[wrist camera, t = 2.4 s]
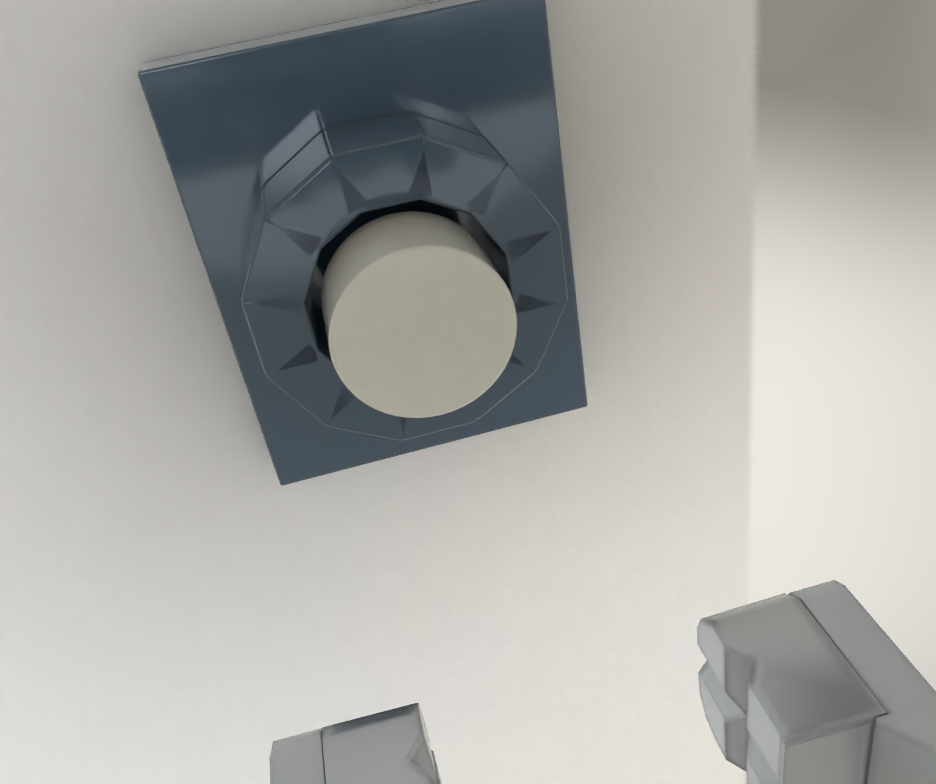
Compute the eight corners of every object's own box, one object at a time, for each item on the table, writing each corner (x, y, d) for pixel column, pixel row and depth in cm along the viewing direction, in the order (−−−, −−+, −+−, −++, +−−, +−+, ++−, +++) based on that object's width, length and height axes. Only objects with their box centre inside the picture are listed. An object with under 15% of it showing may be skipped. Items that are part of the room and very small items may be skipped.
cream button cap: (300, 232, 17) (306, 273, 15) (479, 191, 17) (505, 226, 16) (343, 387, 19) (353, 439, 17) (503, 347, 19) (529, 393, 18)
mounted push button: (141, 62, 17) (123, 95, 15) (530, -19, 18) (577, -2, 16) (279, 464, 23) (284, 538, 20) (575, 387, 23) (615, 449, 21)
